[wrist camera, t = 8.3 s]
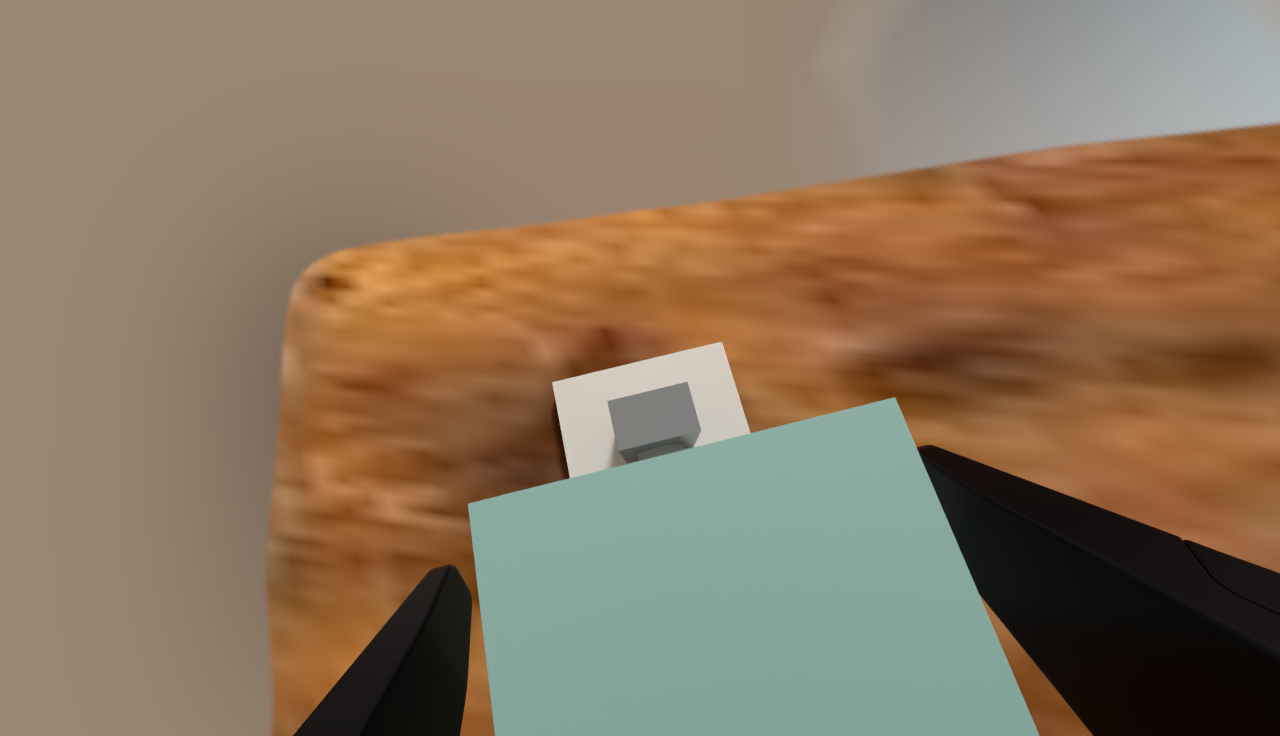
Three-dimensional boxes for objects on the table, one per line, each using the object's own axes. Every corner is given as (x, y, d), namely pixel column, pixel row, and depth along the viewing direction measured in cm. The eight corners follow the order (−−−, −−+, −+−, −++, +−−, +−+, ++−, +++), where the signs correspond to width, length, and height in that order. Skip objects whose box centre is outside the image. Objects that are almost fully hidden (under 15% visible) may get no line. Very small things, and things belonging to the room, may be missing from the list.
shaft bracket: (849, 771, 15) (925, 876, 11) (639, 827, 15) (630, 956, 10) (718, 350, 19) (734, 303, 15) (557, 388, 19) (527, 353, 15)
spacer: (778, 608, 16) (1096, 870, 4) (628, 647, 15) (530, 1030, 4) (738, 476, 17) (895, 397, 5) (600, 510, 17) (468, 503, 5)
